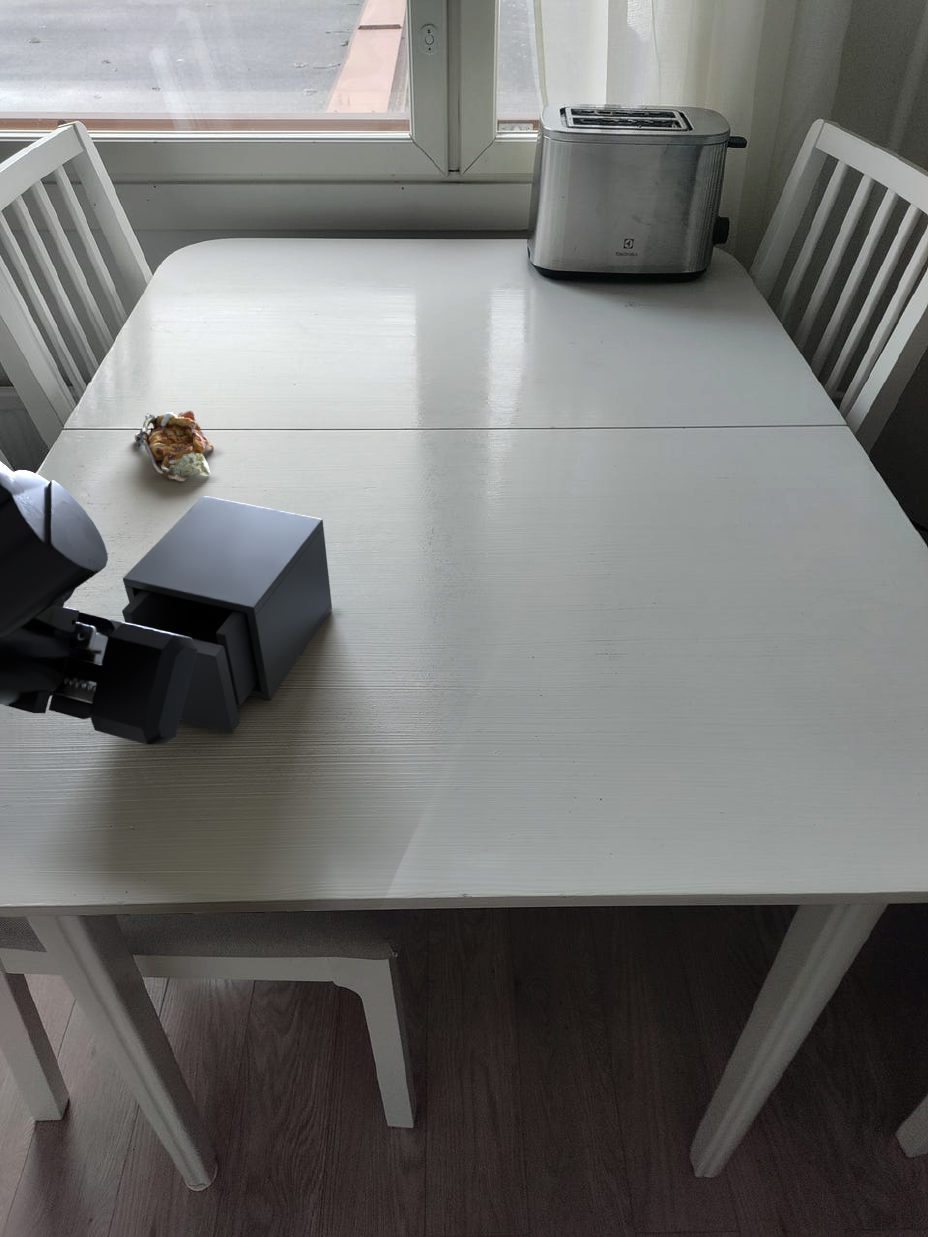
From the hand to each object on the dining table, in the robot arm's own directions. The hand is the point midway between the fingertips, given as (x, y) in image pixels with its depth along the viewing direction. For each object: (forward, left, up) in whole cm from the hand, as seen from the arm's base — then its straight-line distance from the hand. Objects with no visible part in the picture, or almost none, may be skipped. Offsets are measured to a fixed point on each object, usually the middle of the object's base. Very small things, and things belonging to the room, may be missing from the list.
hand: (117, 664), depth 63 cm
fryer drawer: (+2, +9, -9) cm, 13 cm away
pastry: (-10, +43, -10) cm, 46 cm away
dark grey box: (+4, +14, -10) cm, 18 cm away
